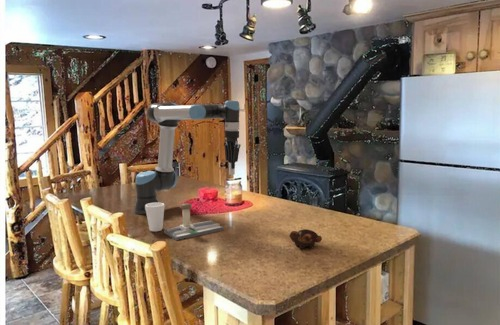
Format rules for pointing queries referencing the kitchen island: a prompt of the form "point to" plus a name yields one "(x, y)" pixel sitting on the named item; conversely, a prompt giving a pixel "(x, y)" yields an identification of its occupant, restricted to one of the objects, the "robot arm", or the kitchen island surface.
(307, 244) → the decorative turtle
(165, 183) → the robot arm
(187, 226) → the tuning slider
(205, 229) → the board
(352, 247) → the kitchen island surface
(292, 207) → the kitchen island surface
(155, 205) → the foam cup
